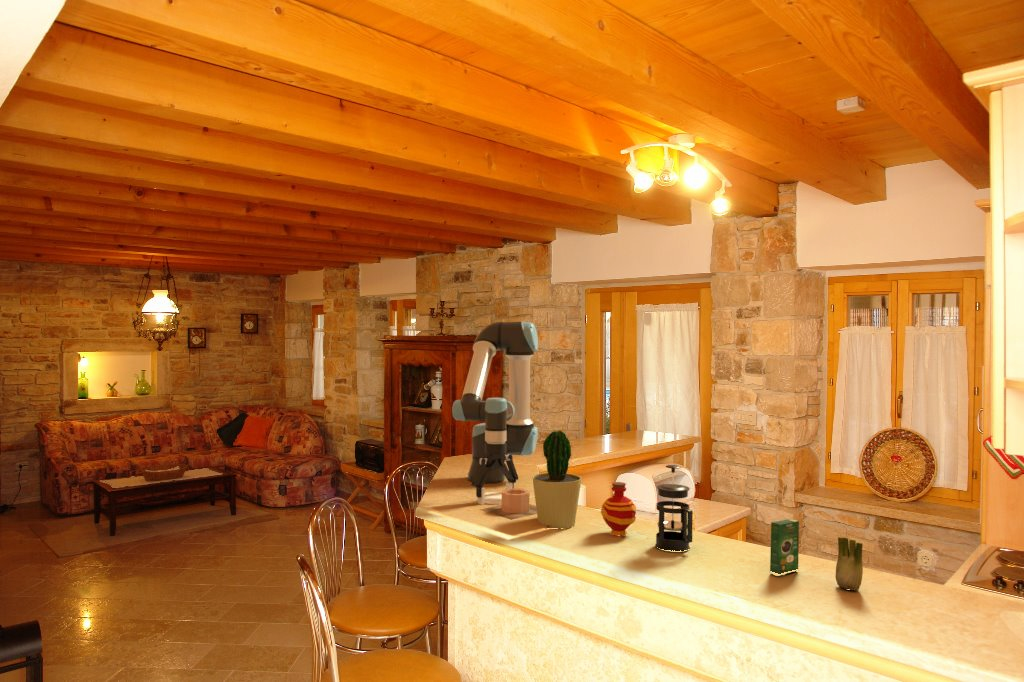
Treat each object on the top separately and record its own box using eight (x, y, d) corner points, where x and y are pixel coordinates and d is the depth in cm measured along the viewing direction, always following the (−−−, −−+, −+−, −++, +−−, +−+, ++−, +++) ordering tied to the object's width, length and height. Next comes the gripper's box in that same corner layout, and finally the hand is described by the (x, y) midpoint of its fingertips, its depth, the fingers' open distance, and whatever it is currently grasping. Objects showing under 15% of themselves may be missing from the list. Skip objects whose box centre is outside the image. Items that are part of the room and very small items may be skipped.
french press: (646, 545, 192) (647, 463, 192) (669, 540, 197) (670, 460, 197) (678, 556, 182) (679, 470, 182) (701, 550, 187) (702, 467, 187)
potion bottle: (614, 526, 210) (615, 478, 210) (642, 533, 203) (643, 483, 203) (593, 533, 203) (594, 483, 203) (621, 541, 196) (622, 489, 196)
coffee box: (789, 568, 173) (790, 517, 173) (799, 572, 171) (800, 519, 171) (769, 574, 169) (769, 521, 169) (779, 577, 167) (779, 524, 166)
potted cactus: (565, 515, 223) (566, 424, 223) (590, 527, 209) (591, 430, 209) (523, 521, 216) (524, 426, 216) (546, 533, 202) (547, 433, 202)
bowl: (516, 505, 232) (516, 487, 232) (534, 510, 225) (535, 492, 225) (496, 509, 226) (496, 491, 226) (514, 514, 219) (514, 496, 219)
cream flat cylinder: (506, 500, 244) (507, 491, 244) (511, 507, 234) (511, 497, 234) (479, 501, 242) (479, 492, 242) (482, 508, 232) (482, 498, 232)
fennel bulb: (865, 593, 157) (866, 541, 157) (845, 594, 156) (845, 542, 156) (851, 584, 162) (851, 534, 162) (831, 585, 162) (831, 534, 162)
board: (519, 504, 237) (519, 501, 237) (551, 513, 225) (551, 510, 225) (479, 513, 225) (479, 509, 225) (511, 523, 213) (511, 519, 213)
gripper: (514, 437, 249) (514, 496, 249) (461, 444, 232) (460, 507, 232) (528, 440, 243) (528, 500, 243) (475, 447, 227) (474, 511, 227)
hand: (495, 503), depth 238 cm, fingers open, 12 cm apart
